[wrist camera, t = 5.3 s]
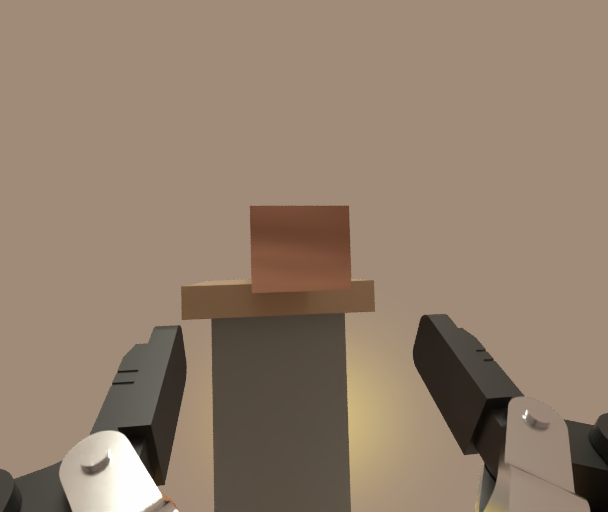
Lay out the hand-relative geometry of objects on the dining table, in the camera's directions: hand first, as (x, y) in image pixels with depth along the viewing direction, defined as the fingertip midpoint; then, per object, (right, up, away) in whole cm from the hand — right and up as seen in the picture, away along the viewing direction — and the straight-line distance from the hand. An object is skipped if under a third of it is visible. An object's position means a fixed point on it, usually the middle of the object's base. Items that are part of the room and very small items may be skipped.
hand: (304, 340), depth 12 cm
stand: (-2, -31, +17) cm, 36 cm away
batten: (-2, +1, +13) cm, 14 cm away
